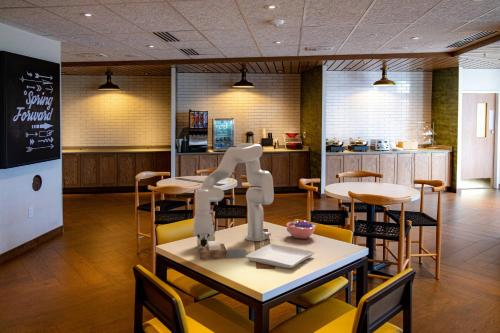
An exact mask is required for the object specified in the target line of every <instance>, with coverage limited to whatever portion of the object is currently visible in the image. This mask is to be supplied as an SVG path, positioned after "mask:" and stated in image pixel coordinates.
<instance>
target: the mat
mask: <svg viewBox="0 0 500 333" xmlns="http://www.w3.org/2000/svg"><path fill="white" fill-rule="evenodd" d="M226 250H227V259H245V258H246V259H248V258H247V257H245V256H246V255H248V254H249V253H248V251H247V250H246V248H236V249H235V248H233V249H232V248H231V249H226Z"/></svg>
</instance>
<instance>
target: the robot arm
mask: <svg viewBox="0 0 500 333" xmlns="http://www.w3.org/2000/svg"><path fill="white" fill-rule="evenodd" d="M263 150H264V149H263V147H262V145H261V144H259V143H250V142H249V143H248V142H247V143H246V142H242V143H241V142H240V143H238V144H237V145H236V147H235V146H234V147H233V146H232V147H231V146H230V147H229V148H227V149H226V151H225V153H224V155H223V157H222V159H221V161H220V163H219V164H218V167H217V168H216V169H215V170H214V171H212V172H211V173H210V174H209V175H208V176H206V178H205V179H204V180H203V183H202V184H201V186H200V188H199V189H196V191H195V214H194V216H193V235H192V236H194V237H199V238H200V239H201V245H202V247H205V245H206V239H207V238H208V237H209V236H212V235H214V234H213V215H212V213H214V210H213V209H211V203H217V202H220V201H222V200H223V199H224V197H225V192H224V191H223V189H222V188H220V187H215V185H216V184H217V183H219V182H220V181H222V180H225V179H227V178H230V177H231V176H232V175H233V173H234V171H235V168H236V166H237V164H238V163H239V164H245V167H246V168H245V169H246V180H247V184H248V185H249V186H253V187H249V188H247V191H246V193H245V198H246V204H247V235H245V237H244V239H245V240H246V241H249V242H261V241H262V242H263V241H265V240H266V239H267V237H266V236H268V237H270V236H272V232H268V231H264V207H263V205H264V206H270V205H271V204H273V202H274V196H275V192H274V179H273V175H272V174H271V172H269V171H268V170H263V169H261V168H262V167H261V162H260V161H261V160H260V158H261V157H262V155H263V153H264V152H263ZM202 234H205V236H204V239H203V237H202Z"/></svg>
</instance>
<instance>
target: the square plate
mask: <svg viewBox="0 0 500 333" xmlns="http://www.w3.org/2000/svg"><path fill="white" fill-rule="evenodd" d="M315 253H316V252H315V251H312V250H308V249H302V248H298V247H292V246H286V245H281V244H274V243H269V244H267V245H264V246H263V247H260V248H258V249H256V250H254V251H252V252H250V253H248V255H246V256H245V257H247V258H246V259H247V260H250V261H251V262H252V261H253V262H256V263H259V264H265V265H269V266H275V267H279V268H285V269H293V268H294V267H296V266H297V265H299V264H300V263H302V262H304V261H306V260H307V259H310V258H311V257H312V256H313V255H314V254H315Z"/></svg>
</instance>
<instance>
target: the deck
mask: <svg viewBox="0 0 500 333" xmlns="http://www.w3.org/2000/svg"><path fill="white" fill-rule="evenodd" d="M220 245H221V250H209V248H208V244H206V245H205V247H202V245H198V247H197V250H198V257H199V261H200V260H201V261H203V260H204V261H205V260H218V259H219V260H223V259H228V255H227V250H228V249H226V246H225V243H220Z"/></svg>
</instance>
